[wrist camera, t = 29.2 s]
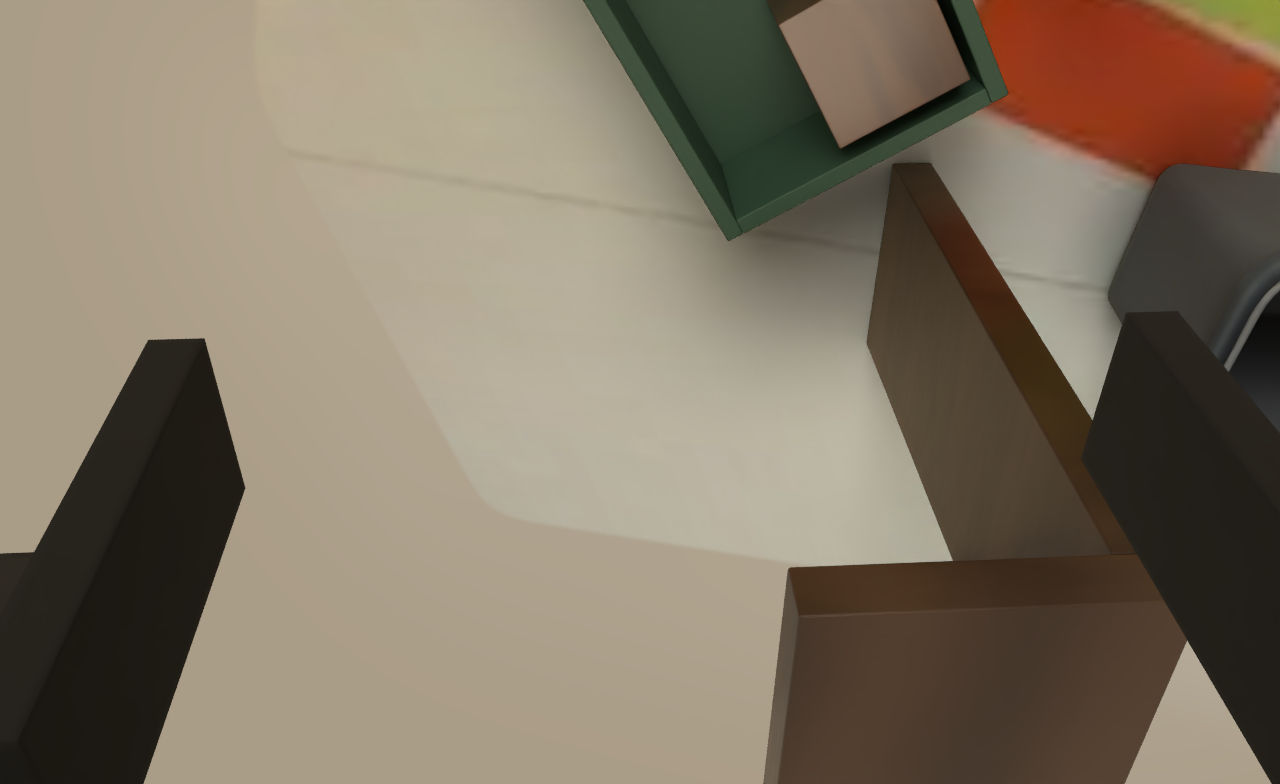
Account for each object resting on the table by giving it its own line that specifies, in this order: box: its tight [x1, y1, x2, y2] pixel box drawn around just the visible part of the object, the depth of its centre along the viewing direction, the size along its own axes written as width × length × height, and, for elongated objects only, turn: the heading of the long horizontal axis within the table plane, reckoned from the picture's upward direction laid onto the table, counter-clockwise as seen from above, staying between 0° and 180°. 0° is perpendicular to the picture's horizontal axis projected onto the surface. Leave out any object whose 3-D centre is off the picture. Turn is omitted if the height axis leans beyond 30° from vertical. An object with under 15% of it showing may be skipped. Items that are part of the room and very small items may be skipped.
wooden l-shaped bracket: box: [763, 163, 1187, 784], centre depth 48 cm, size 12×12×30 cm
